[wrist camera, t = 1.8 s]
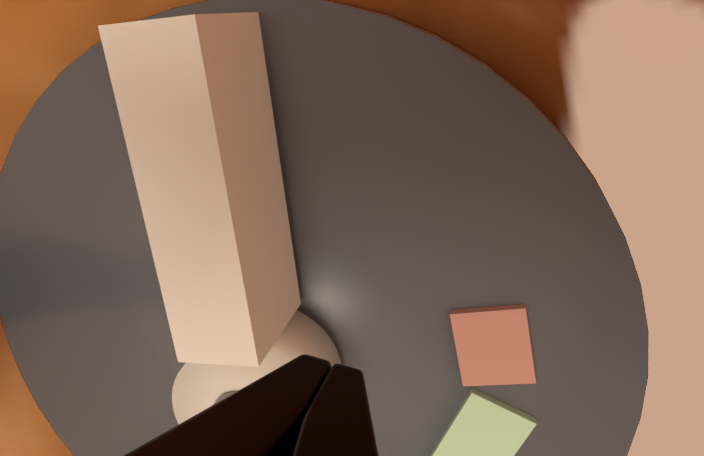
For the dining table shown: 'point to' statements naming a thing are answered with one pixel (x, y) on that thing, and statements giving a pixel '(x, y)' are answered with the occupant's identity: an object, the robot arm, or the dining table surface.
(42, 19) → the dining table surface
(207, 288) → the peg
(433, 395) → the round gray plate
